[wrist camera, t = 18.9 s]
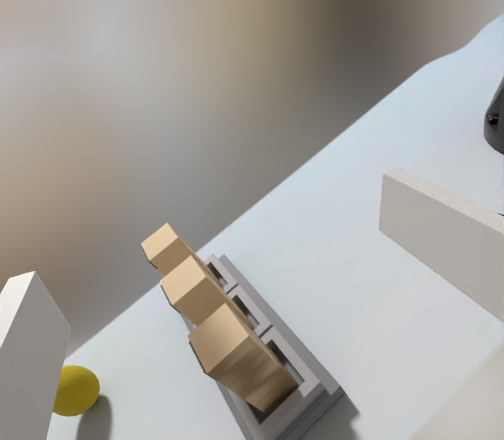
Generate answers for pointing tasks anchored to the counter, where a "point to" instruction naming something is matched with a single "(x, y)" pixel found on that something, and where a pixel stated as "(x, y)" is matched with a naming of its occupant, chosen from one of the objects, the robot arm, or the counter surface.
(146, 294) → the counter surface
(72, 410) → the lemon
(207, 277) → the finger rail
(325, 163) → the counter surface
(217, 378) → the oak finger
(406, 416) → the counter surface
